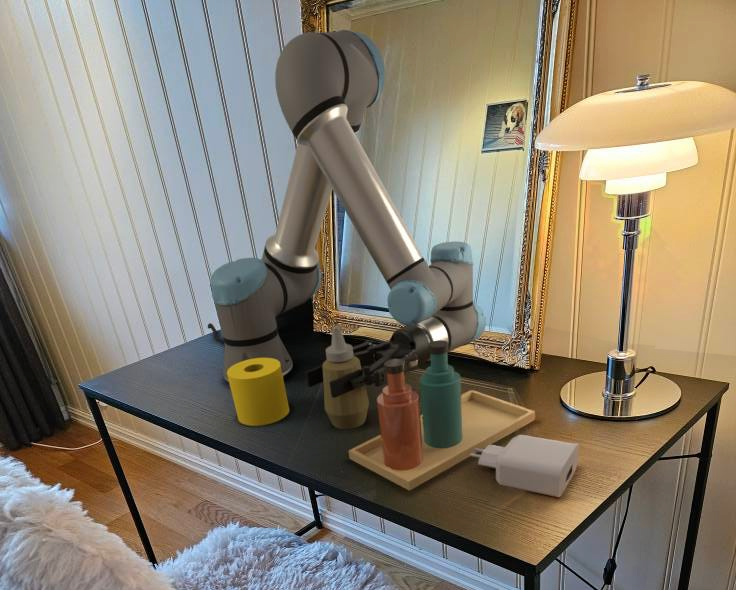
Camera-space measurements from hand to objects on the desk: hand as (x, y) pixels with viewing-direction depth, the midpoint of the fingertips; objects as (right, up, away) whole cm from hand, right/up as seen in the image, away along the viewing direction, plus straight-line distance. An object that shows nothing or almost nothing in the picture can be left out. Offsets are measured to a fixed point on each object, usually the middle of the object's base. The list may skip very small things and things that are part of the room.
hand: (319, 384), depth 111 cm
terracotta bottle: (+14, -13, -6) cm, 20 cm away
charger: (+31, -16, -12) cm, 37 cm away
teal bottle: (+21, -9, -2) cm, 23 cm away
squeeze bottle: (+5, -6, +8) cm, 11 cm away
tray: (+21, -10, -2) cm, 23 cm away
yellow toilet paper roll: (-12, -3, +16) cm, 20 cm away
